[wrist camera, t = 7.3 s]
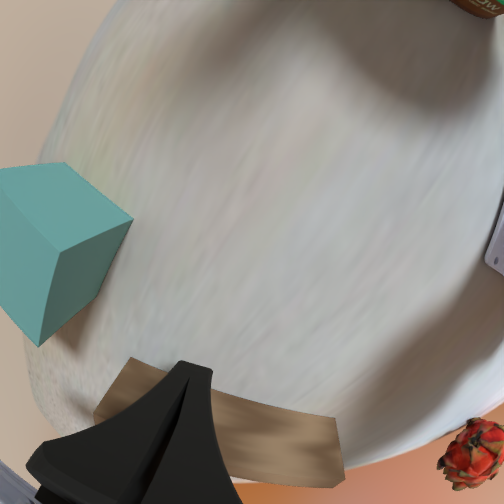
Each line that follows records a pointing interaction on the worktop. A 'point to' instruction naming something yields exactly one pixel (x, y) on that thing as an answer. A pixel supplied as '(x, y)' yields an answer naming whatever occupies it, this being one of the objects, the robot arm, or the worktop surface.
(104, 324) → the worktop surface
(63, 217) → the teal cube
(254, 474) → the walnut block
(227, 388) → the worktop surface
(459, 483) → the dragon fruit
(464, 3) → the food container
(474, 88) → the worktop surface
